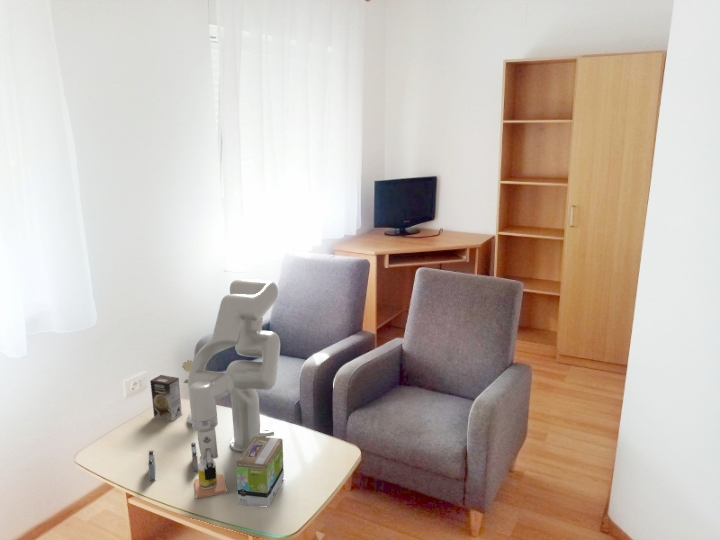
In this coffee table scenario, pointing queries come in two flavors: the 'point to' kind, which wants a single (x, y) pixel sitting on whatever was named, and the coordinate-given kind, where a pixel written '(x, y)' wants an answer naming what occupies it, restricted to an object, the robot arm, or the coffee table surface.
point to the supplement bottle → (201, 473)
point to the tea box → (260, 471)
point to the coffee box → (166, 397)
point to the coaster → (215, 490)
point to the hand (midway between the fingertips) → (209, 470)
